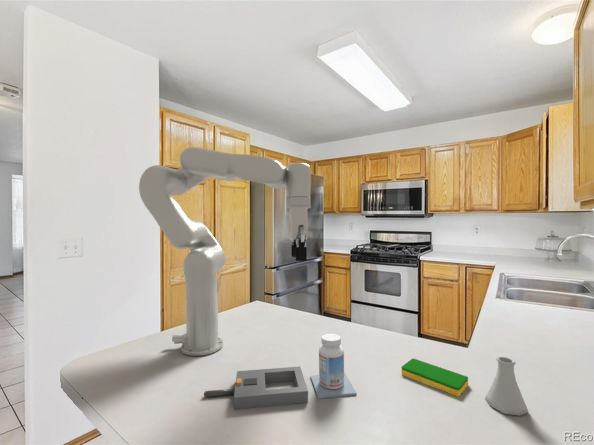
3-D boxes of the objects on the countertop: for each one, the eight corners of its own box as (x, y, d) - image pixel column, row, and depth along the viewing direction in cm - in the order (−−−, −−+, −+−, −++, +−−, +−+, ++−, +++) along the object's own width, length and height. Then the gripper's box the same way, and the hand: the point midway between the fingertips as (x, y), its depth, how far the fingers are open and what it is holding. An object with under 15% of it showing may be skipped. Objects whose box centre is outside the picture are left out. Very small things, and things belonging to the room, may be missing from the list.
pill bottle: (346, 379, 73) (345, 333, 73) (341, 392, 67) (341, 343, 67) (322, 375, 74) (322, 331, 74) (316, 387, 69) (316, 340, 69)
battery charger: (199, 412, 61) (199, 397, 61) (207, 383, 72) (207, 370, 72) (308, 402, 64) (308, 388, 64) (300, 376, 75) (300, 364, 75)
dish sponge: (412, 366, 81) (412, 357, 81) (468, 386, 71) (468, 376, 71) (400, 376, 76) (400, 366, 76) (458, 399, 66) (458, 388, 66)
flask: (478, 397, 66) (478, 353, 66) (507, 395, 67) (507, 351, 67) (503, 418, 59) (503, 369, 59) (536, 415, 59) (536, 367, 59)
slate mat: (318, 398, 65) (318, 396, 65) (310, 377, 74) (310, 375, 74) (356, 394, 67) (356, 392, 67) (344, 374, 76) (344, 372, 76)
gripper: (283, 205, 98) (283, 255, 98) (289, 201, 81) (290, 262, 81) (305, 205, 100) (305, 255, 100) (316, 201, 82) (316, 262, 82)
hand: (298, 258), depth 90 cm, fingers open, 9 cm apart
